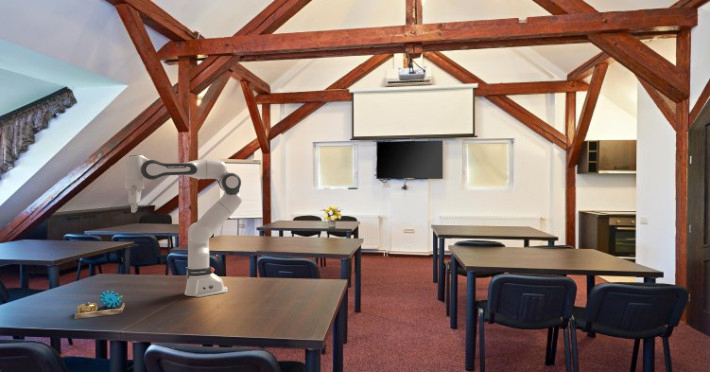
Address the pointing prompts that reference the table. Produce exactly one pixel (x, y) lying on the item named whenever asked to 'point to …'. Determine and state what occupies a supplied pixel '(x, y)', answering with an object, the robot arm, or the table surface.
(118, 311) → the gear bench
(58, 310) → the table surface
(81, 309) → the gear
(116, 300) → the gear
